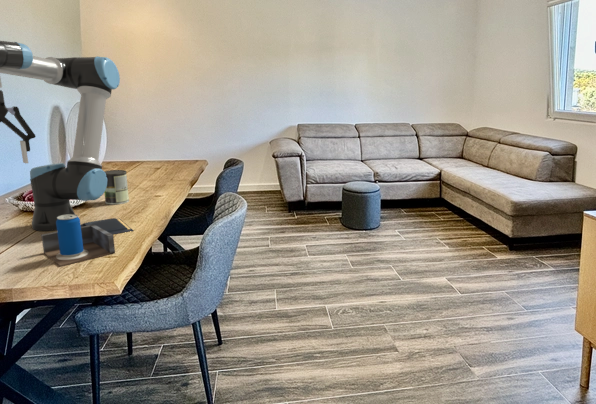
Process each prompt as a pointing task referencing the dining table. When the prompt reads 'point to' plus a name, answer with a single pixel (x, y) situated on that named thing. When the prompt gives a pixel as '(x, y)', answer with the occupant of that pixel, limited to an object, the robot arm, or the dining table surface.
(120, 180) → the coffee can
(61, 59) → the robot arm
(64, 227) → the beverage can
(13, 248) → the dining table surface
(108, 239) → the corner tray
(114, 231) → the dark grey flat rectangle
